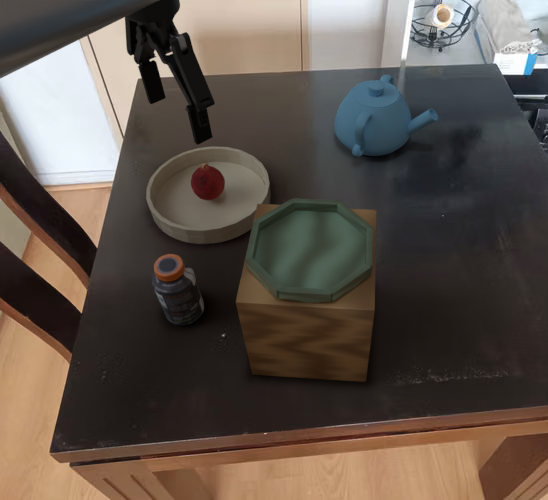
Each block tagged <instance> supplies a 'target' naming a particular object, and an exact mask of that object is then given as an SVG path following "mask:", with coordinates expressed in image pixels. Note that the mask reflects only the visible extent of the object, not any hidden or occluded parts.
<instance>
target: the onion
mask: <svg viewBox="0 0 548 500" xmlns="http://www.w3.org/2000/svg"><path fill="white" fill-rule="evenodd" d="M191 187H192V190H193V192H194V194H196V195H197V196H198V197H199V198H200V199H203V200H213V199H215V198H217V197H218V196H220V195H221V193H222V192H223V190H224V187H225V179H224V177H223V175H222V173H221V172H220V171H219V170H218V169H216V168H215V167H212V166H209V165H208V164H207V163H203V164H202V166H201V167H199V168H198V169H196V171H195V172H194V173H193V175H192V179H191Z"/></svg>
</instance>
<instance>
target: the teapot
mask: <svg viewBox="0 0 548 500" xmlns="http://www.w3.org/2000/svg"><path fill="white" fill-rule="evenodd" d="M438 120H439V116H438V113H437V112H436V110H435V109H434V108H431V107H430V108H428V109H427V110H426V111H424V112H422V113H421V114H419V115H417V116H416V117H414V118H412V114H411V111H410V107H409V105H408V102H407V101H406V100H405V98H404V96H403V94H402V93H401V91H400V90H399V88H398V87H396V86H395V85H394V77H393V76H392V75H390V74H383V75H382V76H381V77H380V79H379V80H378V79H375V80H374V79H371V80H370V79H369V80H364V81H362V82H359V83H357V84H356V85H355V86H354V87H352V88H351V90H349V92H348V93H347V95H346V96H344V98H343V100H342V101H341V103H340V105H339V107H338V109H337V111H336V114H335V118H334V125H333V126H334V127H333V128H334V133H335V135H336V138H338V140H339V141H340V142H341V143H342V144H343V145H344V146H345V147H346V148H348V149H349V150H351V153H352V155H353V156H354V157H356V158H359V157H362V156H363V155H364V156H370V157H380V156H385V155H389V154H392V153H394V152H396V151H398V150H399V149H400V148H402V147H403V146H404V145H405V144H406V143H407V142H408V141H409V139H410V137H411V135H413V134H415V133H416V132H419V131H420V130H422V129H423V128H425V127H428V126H429V125H431V124H433V123H434V122H436V121H438Z"/></svg>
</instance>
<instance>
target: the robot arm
mask: <svg viewBox="0 0 548 500" xmlns="http://www.w3.org/2000/svg"><path fill="white" fill-rule="evenodd" d="M180 8H181V2H180V0H0V79H2V78H4V77H6V76H9V75H10V74H12V73H15V72H17V71H19V70H21V69H22V68H25V67H27V66H29V65H31V64H34V63H35V62H38V61H39V60H41V59H43V58H46V57H47V56H49V55H51V54H52V53H56V52H57V51H59V50H61V49H63V48H65V47H67V46H70V45H71V44H73V43H76V42H77V41H79V40H81V39H83V38H85V37H87V36H89V35H91V34H94V33H96V32H98V31H100V30H102V29H103V28H106V27H107V26H110V25H112V24H114V23H116V22H118V21H120V20H122V19H124V27H125V44H126V45H125V46H126V53H127V54H128V55H129V56H131V57H132V56H133V61H134V62H135V64H136V65H138V66H137V67H138V68H137V69H138V71H139V75H140V78H141V82H142V84H143V87H144V91H145V94H146V95H145V96H146V98H147V101H148V104H150V105H154V104H155V103H157V102H161V101H163V100H165V99H166V98H167V96H166V93H165V89H164V86H163V83H162V78H161V75H160V70H159V68H158V63H157V61H156V60H154V59H155V58H157V56H158V57H159V59H160V61H161V63H162V64H164V65H167V66H168V68H169V71H170V72H171V74H172V76H173V78H174V79H175V81H176V84H177V85H178V87H179V90H180V91H181V92H182V95H183V96H184V98H185V100H186V102H187V105H186V107H185V111H186V112H187V116H188V119H189V125H190V129H191V133H192V137H193V142H194V143H195V145H200V144H203V143H204V142H207V141H208V140H210V139H212V138H213V133H212V127H211V122H210V117H209V111H208V108H210V107H212V106H214V105H215V104H216V102H215V100H214V97H213V94H212V91H211V90H210V88H209V85H208V82H207V80H206V78H205V77H206V76H205V75H204V73H203V70H202V68H201V65H200V63H199V61H198V58H197V56H196V54H195V50H194V47H193V44H192V40H191V36H190V34H189V32H187V31H185V32H182V33H179V30H178V29H177V27H176V25H175V23H174V18H175V16H176V15H177V13H178V12H179V11H180ZM155 52H156V53H157V56H156V54H155ZM150 60H151V61H150Z"/></svg>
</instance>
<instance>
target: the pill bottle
mask: <svg viewBox="0 0 548 500" xmlns="http://www.w3.org/2000/svg"><path fill="white" fill-rule="evenodd" d="M153 270H154V271H153V273H152V275H151V285H152V287H153V290H154V293H155V295H156V296H157V299H158V301H159V304H160V306H161V308H162V311H163V313H164V316H165V317H166V319H167V321H169V322H170V323H171V324H172V325H176V326H187V325H191V324H193V323H194V322H196V321H197V320H198V319H200V318H201V317H202V316H203V313H204V310H205V303H204V299H203V297H202V293H201V290H200V287H199V284H198V280H197V277H196V275H195V272H194V269H193V267H192V266H191V265H190V264H189V263H188V262H186V261H184V260H183V258H182V257H181V256H180V255H178V254H174V253H167V254H164V255H162V256H160V257H158V258H157V259H156V260H155V262H154V264H153Z"/></svg>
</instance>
